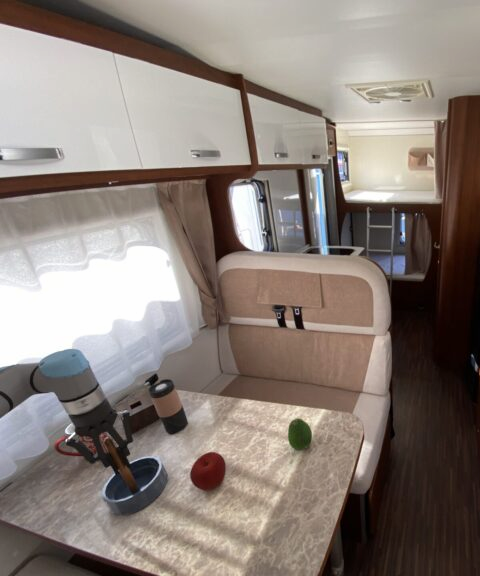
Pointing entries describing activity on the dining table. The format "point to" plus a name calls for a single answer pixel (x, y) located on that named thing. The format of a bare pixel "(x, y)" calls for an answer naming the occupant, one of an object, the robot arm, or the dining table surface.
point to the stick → (121, 465)
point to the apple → (208, 471)
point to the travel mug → (168, 406)
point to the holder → (140, 412)
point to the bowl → (148, 479)
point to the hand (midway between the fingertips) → (122, 467)
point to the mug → (85, 440)
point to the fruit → (299, 434)
